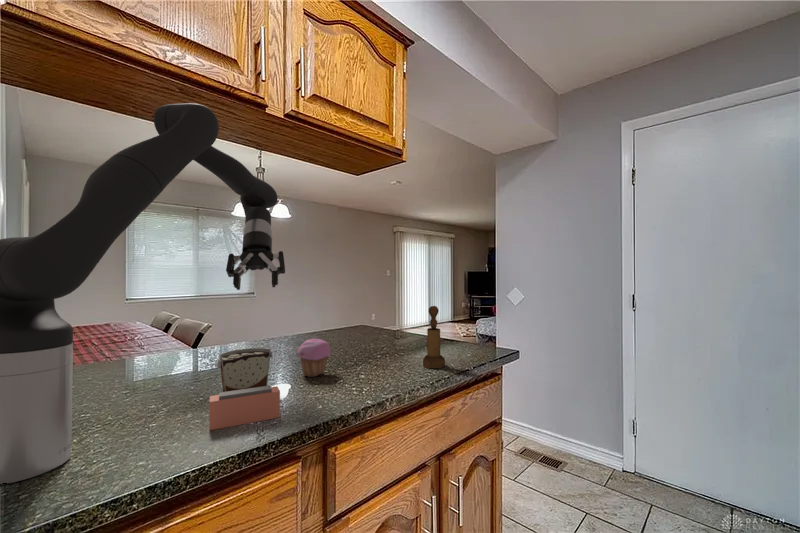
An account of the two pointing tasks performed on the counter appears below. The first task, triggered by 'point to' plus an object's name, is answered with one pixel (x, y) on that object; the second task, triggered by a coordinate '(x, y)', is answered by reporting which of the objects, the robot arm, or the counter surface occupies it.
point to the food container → (244, 368)
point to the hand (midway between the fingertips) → (256, 286)
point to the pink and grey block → (244, 406)
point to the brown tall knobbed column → (433, 343)
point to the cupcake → (314, 356)
